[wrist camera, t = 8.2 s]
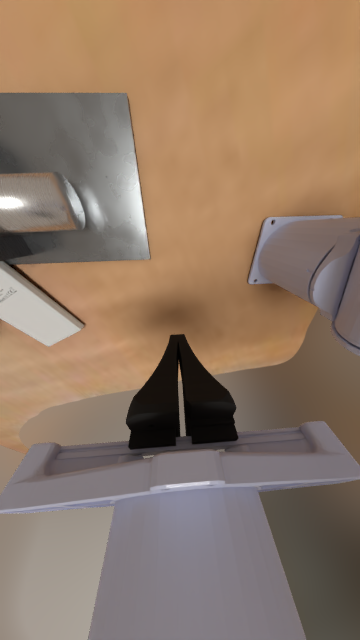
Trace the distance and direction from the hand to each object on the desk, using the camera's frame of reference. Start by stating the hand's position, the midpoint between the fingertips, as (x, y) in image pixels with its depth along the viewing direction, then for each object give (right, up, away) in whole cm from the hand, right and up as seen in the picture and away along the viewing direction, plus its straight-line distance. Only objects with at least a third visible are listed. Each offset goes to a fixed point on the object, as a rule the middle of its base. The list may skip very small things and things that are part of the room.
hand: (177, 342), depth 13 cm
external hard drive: (-23, +4, +7) cm, 24 cm away
